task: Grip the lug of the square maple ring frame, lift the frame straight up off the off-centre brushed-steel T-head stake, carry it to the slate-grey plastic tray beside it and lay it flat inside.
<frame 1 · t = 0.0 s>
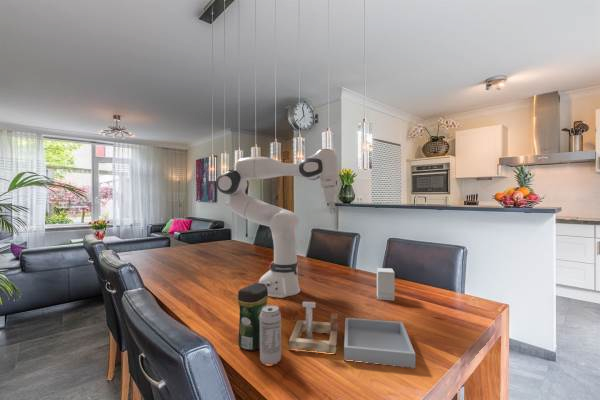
hand: (332, 212, 130), 39 cm above the table, tool pointing down, fingers open, 8 cm apart
tray: (375, 346, 85), on the table
coffee jar: (253, 344, 87), on the table
stake: (309, 344, 87), on the table
ring: (314, 340, 89), on the table
energy drink can: (270, 361, 78), on the table
supplement box: (385, 297, 126), on the table
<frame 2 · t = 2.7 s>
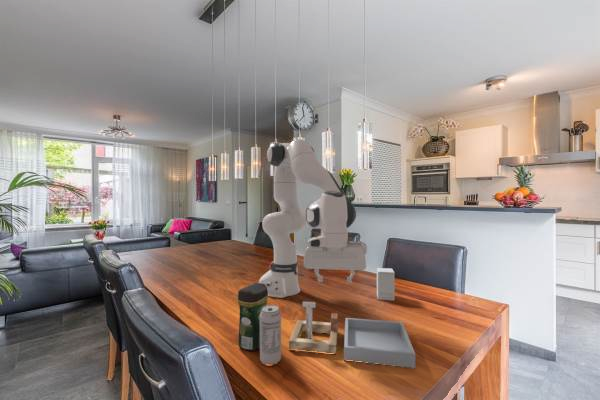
hand: (334, 282, 91), 18 cm above the table, tool pointing down, fingers open, 8 cm apart
nothing on the table moved.
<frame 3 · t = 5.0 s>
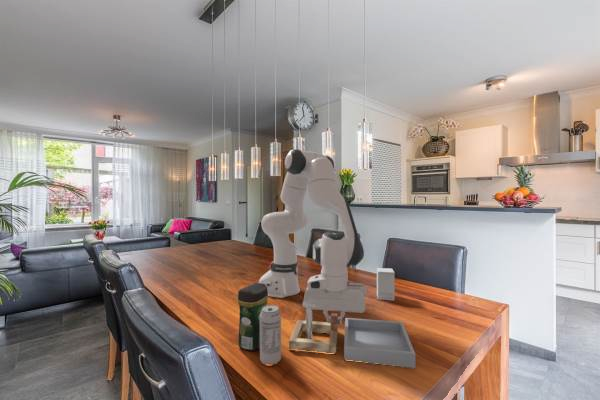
hand: (334, 323, 91), 5 cm above the table, tool pointing down, fingers closed on ring
ring: (314, 340, 89), on the table, touching gripper
everything else where it was.
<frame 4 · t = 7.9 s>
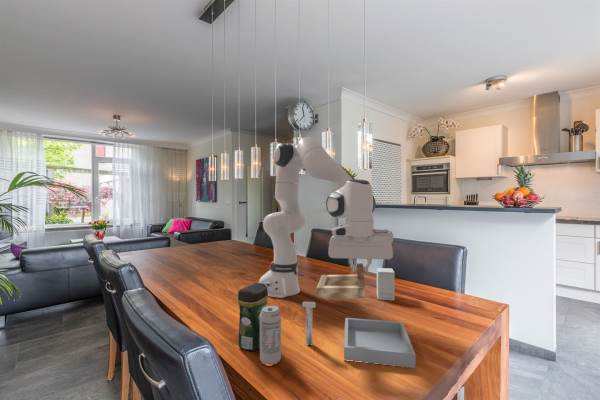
hand: (360, 272, 89), 22 cm above the table, tool pointing down, fingers closed on ring, 2 cm apart
ring: (342, 290, 86), point 17 cm above the table, touching gripper
everything else where it was.
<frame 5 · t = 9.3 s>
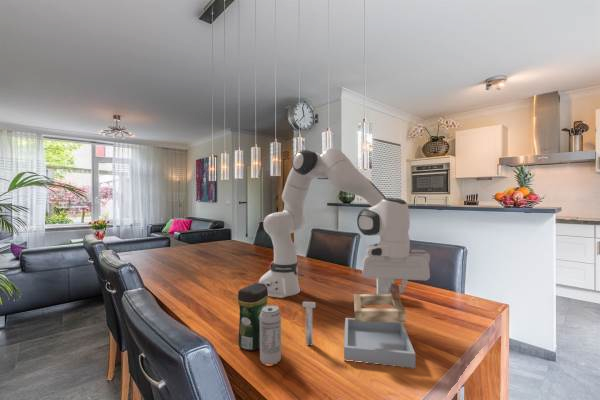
hand: (395, 292, 87), 16 cm above the table, tool pointing down, fingers closed on ring, 2 cm apart
ring: (377, 311, 85), point 11 cm above the table, touching gripper
everything else where it was.
when the fingers open (7 cm above the table, at t = 10.7 s): ring stays where it is, resting on tray.
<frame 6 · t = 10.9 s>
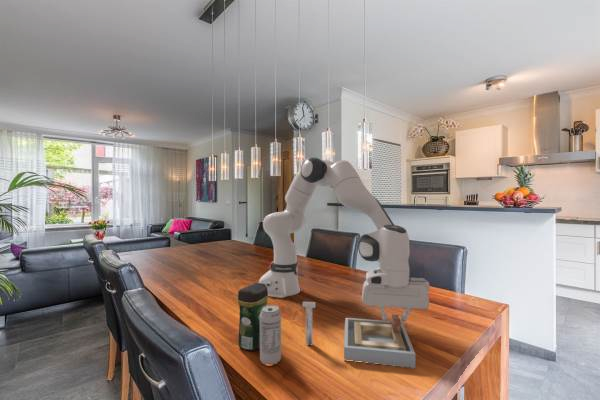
hand: (394, 320, 88), 7 cm above the table, tool pointing down, fingers open, 4 cm apart
ring: (377, 343, 85), point 1 cm above the table, touching tray
everything else where it was.
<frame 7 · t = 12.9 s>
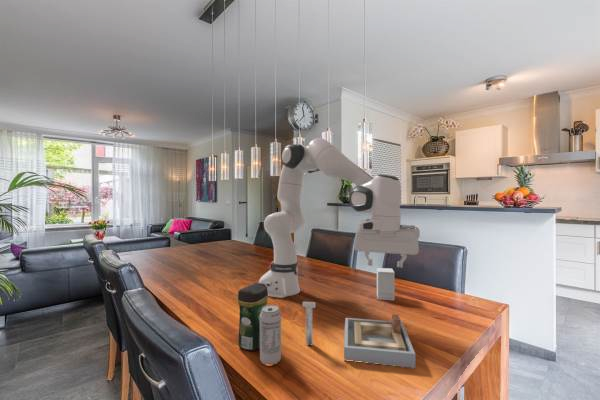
hand: (384, 266, 90), 24 cm above the table, tool pointing down, fingers open, 8 cm apart
nothing on the table moved.
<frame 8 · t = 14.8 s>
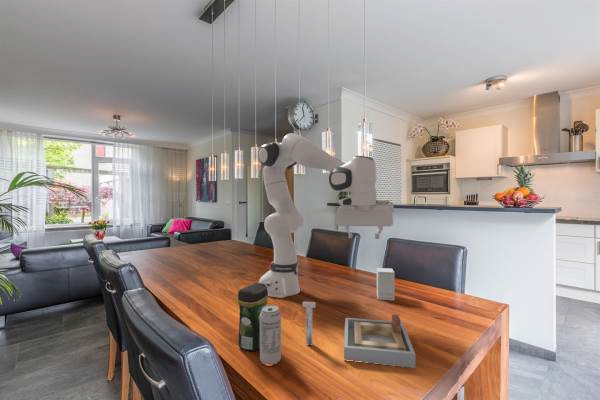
hand: (363, 238, 100), 31 cm above the table, tool pointing down, fingers open, 8 cm apart
nothing on the table moved.
at the end: ring 0.5 cm off-centre on the tray, point 1.0 cm above the tray's base; ring tilted 0°; the gripper is holding nothing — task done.
